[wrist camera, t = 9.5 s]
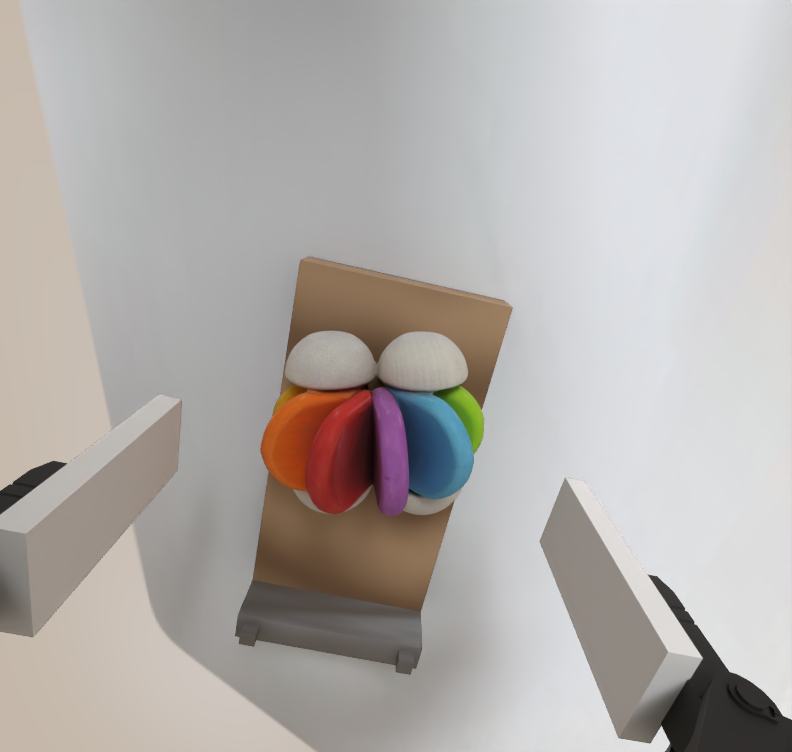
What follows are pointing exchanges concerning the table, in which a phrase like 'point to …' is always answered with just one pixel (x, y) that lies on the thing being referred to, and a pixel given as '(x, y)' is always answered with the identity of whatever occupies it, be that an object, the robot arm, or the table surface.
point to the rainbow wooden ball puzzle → (374, 424)
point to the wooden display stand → (364, 524)
